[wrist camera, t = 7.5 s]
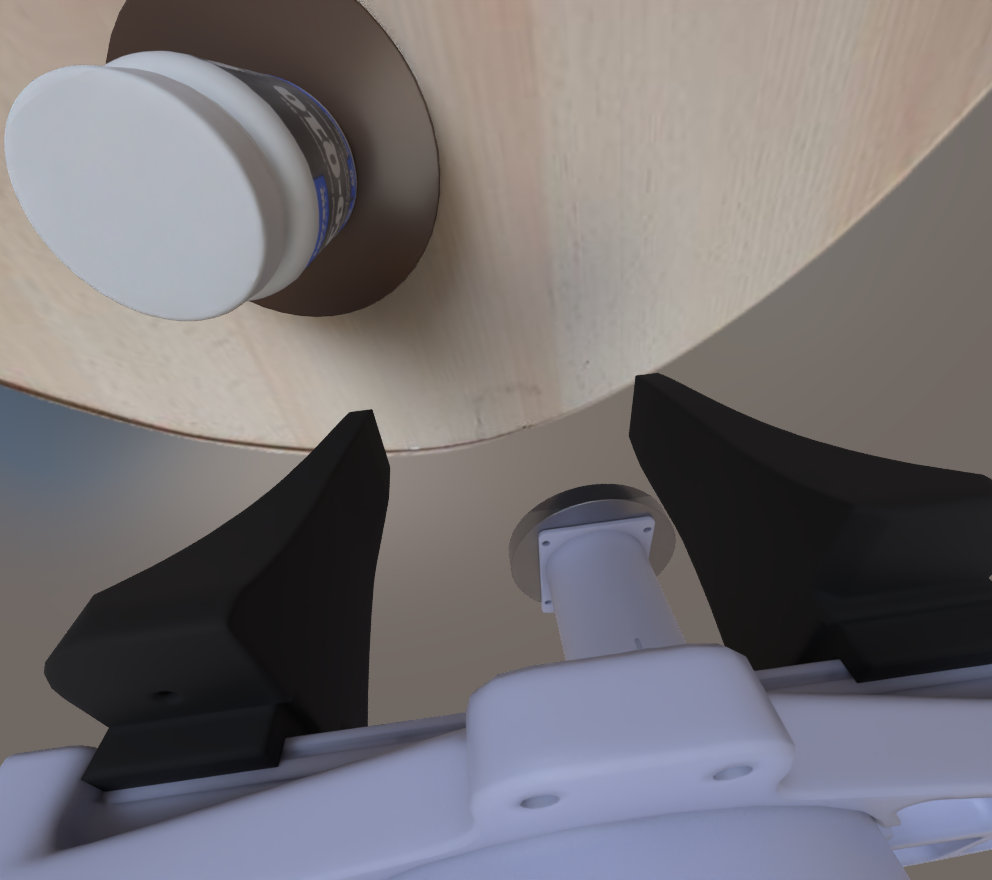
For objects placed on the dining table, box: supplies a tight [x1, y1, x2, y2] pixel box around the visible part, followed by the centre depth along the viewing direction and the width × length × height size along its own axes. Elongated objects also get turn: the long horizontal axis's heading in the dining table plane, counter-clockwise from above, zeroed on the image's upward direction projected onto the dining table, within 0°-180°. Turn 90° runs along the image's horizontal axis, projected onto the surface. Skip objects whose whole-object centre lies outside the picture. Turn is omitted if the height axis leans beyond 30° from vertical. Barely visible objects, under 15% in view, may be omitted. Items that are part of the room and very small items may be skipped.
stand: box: [106, 0, 440, 317], centre depth 15 cm, size 10×10×2 cm
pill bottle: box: [4, 51, 357, 321], centre depth 11 cm, size 5×5×8 cm
